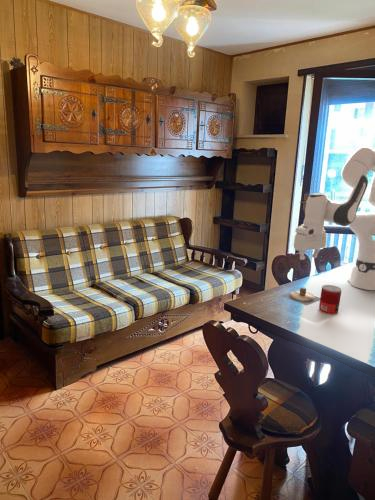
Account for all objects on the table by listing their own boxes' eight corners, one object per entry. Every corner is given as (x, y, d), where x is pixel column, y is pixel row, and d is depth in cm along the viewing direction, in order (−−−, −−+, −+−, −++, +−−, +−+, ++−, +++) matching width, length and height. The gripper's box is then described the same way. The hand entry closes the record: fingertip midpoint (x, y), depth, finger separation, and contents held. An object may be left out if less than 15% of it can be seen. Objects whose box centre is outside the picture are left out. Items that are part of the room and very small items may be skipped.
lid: (298, 291, 191) (300, 283, 190) (318, 298, 183) (320, 289, 182) (285, 295, 184) (286, 287, 183) (305, 303, 176) (306, 294, 175)
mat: (298, 290, 193) (298, 290, 193) (323, 299, 183) (323, 299, 183) (280, 296, 184) (280, 295, 184) (306, 306, 174) (306, 305, 174)
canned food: (339, 316, 165) (343, 291, 162) (319, 313, 166) (323, 289, 164) (336, 309, 172) (340, 286, 169) (317, 307, 174) (321, 283, 171)
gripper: (319, 226, 184) (315, 254, 187) (293, 228, 172) (289, 258, 175) (331, 229, 179) (327, 257, 183) (305, 231, 167) (300, 262, 170)
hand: (308, 258), depth 179 cm, fingers open, 8 cm apart
